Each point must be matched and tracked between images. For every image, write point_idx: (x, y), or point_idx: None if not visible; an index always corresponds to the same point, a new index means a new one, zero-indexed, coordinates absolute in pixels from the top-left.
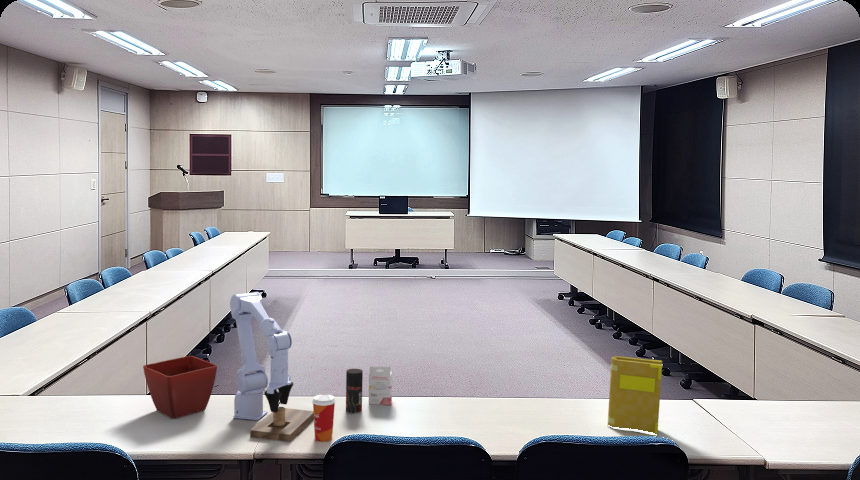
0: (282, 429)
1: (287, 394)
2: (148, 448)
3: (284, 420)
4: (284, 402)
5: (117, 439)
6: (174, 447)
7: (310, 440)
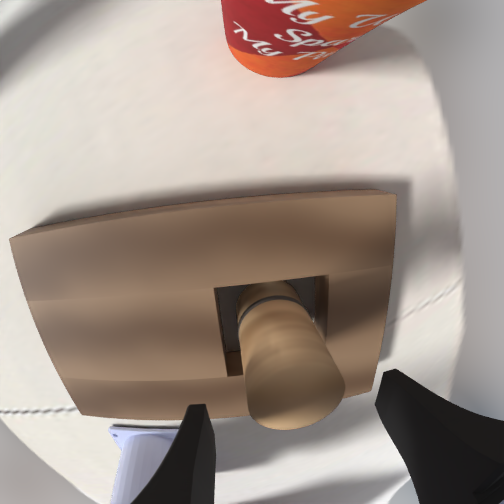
0: (341, 274)
1: (194, 477)
2: None
3: (284, 313)
4: (207, 425)
5: (380, 498)
6: None
7: (323, 92)
